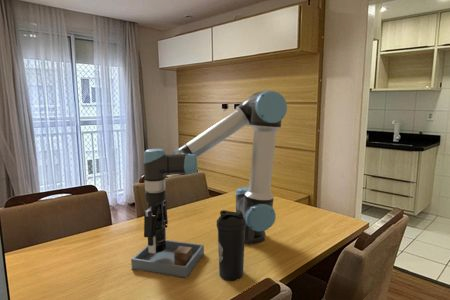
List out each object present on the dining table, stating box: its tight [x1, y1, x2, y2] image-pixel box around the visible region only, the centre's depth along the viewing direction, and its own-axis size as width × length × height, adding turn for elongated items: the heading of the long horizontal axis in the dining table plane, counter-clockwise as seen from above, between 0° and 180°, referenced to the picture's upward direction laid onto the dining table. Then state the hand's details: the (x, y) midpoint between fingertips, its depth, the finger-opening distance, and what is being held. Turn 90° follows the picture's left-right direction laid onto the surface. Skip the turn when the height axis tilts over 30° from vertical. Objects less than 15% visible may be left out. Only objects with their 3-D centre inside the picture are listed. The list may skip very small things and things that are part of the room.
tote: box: [130, 239, 205, 279], centre depth 114 cm, size 22×18×4 cm
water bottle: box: [216, 209, 246, 282], centre depth 104 cm, size 10×10×23 cm
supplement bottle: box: [154, 217, 167, 253], centre depth 115 cm, size 7×7×12 cm
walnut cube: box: [174, 246, 192, 266], centre depth 113 cm, size 5×5×5 cm
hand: (157, 247), depth 115 cm, fingers closed on supplement bottle, 7 cm apart
